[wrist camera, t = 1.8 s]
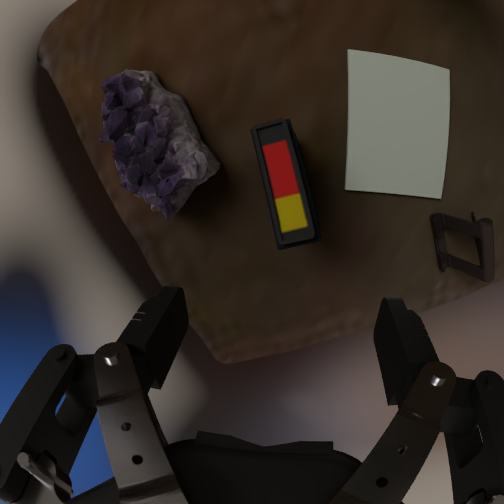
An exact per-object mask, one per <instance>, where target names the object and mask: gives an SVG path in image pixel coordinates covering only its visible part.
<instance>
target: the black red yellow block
mask: <svg viewBox="0 0 504 504" xmlns="http://www.w3.org/2000/svg"><path fill="white" fill-rule="evenodd" d="M251 134H252V138H253V142H254V146H255V151H256V155H257V159H258V163H259V167H260V172H261V176H262V180H263V185H264V189H265V193H266V198H267V202H268V206H269V211H270V215H271V220H272V224H273V229H274V233H275V238H276V243H277V247H278V250H282V249H286V248H291V247H295V246H300V245H304V244H309V243H313V242H318V241H321V233H320V229H319V221H318V217H317V213H316V208H315V204H314V200H313V196H312V192H311V188H310V185H309V181H308V177H307V173H306V170H305V166H304V162H303V159H302V155H301V151H300V148H299V144H298V141H297V137H296V134H295V133H294V131H293V128H292V125H291V122H290V119H286V120H285V119H277V120H274V121H270V122H266V123H263V124H259V125H256V126H254V127H253V128H252V129H251Z"/></svg>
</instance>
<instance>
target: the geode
mask: <svg viewBox="0 0 504 504" xmlns="http://www.w3.org/2000/svg"><path fill="white" fill-rule="evenodd" d="M100 86H101V88H102V89H103V91H104V92H105V94H106V95H105V102H103V103H102V104H101V110H102V113H101V118H102V119H103V120H104V122H103V131H104V133H103V134H102V135H100V136H99V141H100V142H107V143H110V144H113V145H114V147H113V149H112V152H113V153H115V154H114V155H113V156H112V157H113V158H114V159H115V162H116V166H117V171H118V177H119V178H120V179H122V181H121V183H120V185H121V186H122V187H123V188H124V189H125V190H127V191H128V190H129V191H130V192H131V193H134V195H135V196H137V197H140V198H144V200H145V201H146V203H148V204H150V205H151V210H153V211H158V212H159V211H162V213H163V214H164V216H165V218H166V219H167V221H170V220H172V219H173V218H174V217H175V214H176V213H177V212H178V211H179V210H180V209H181V208H182V206H183V205H184V204H185V202H186V201H187V200H188V198H189V197H190V196H191V194H192V192H193V191H194V189H195V188H196V187H197V186H198V185H199V184H202V183H204V182H205V181H207V179H208V178H209V177H211V176H213V175H214V174H215V173H216V172H217V171H218V170H219V169H220V167H221V164H220V162H219V160H218V158H217V156H216V155H215V154H214V153H213V152H212V151H211V150H210V149H209V148H208V147H207V145H206V144H205V143H204V142H203V140H202V139H201V137H200V132H199V129H198V126H197V125H196V124H195V122H194V119H193V117H192V115H191V113H190V111H189V107H188V105H187V103H186V101H185V99H184V98H183V97H182V96H181V95H180V94H178V93H176V94H173V93H171V92H169V91H167V90H166V89H165V88H164V87H163V86H162V85H161V83H160V81H159V78H158V76H157V75H156V74H155V73H154V72H149V71H145V70H144V71H141V72H140V71H136V70H132V69H130V70H129V69H128V68H127V69H126V70H125V71H123V72H121V73H120V74H117V75H113V76H112V77H109V78H107V79H106V80H105V81H103V82H102V83H101V84H100Z"/></svg>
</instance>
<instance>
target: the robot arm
mask: <svg viewBox="0 0 504 504" xmlns="http://www.w3.org/2000/svg"><path fill="white" fill-rule="evenodd" d="M188 323H189V318H188V312H187V307H186V301H185V295H184V291H183V288H181V287H170V286H164V287H163V288H162V289H161V291H160V292H159V294H158V295H157V296H156V297H151V298H150V299H148V300H147V301H145V302H144V303H143V304H142V305H141V306H140V308H139V309H138V311H137V313H135V315H134V316H133V318H132V320H131V321H130V322H129V324H128V325H127V327H126V328H125V329H124V331H123V332H122V334H121V335H120V337H119V338H118V340H117V341H116V342H111V343H108V344H105V345H103V346H101V347H100V348H99V349H98V350H97V351H96V352H95V354H89V355H88V354H87V355H77V353H76V352H75V350H74V348H73V347H72V346H71V345H68V344H60V345H57V346H54V347H53V348H52V349H50V350H49V351H48V352H47V353H46V355H45V356H44V358H43V359H42V360H41V362H40V363H39V365H38V366H37V367H36V369H35V370H34V372H33V373H32V375H31V377H30V378H29V379H28V381H27V382H26V384H25V385H24V387H23V388H22V390H21V391H20V393H19V394H18V396H17V397H16V399H15V401H14V402H13V404H12V405H11V407H10V409H9V410H8V412H7V414H6V415H5V417H4V419H3V421H2V422H1V424H0V499H1V500H2V501H3V502H5V503H7V504H404V503H403V502H402V499H403V498H404V496H405V495H406V493H407V492H408V490H409V488H410V487H411V485H412V483H413V482H414V480H415V478H416V477H417V475H418V473H419V471H420V470H421V468H422V466H423V464H424V462H425V460H426V459H427V457H428V455H429V453H430V451H431V449H432V447H433V445H434V443H435V441H436V439H437V437H438V434H439V432H444V436H445V441H446V447H447V453H448V458H449V465H450V473H451V480H452V490H453V500H454V504H504V380H503V379H502V378H501V376H500V375H499V374H497V373H496V372H493V371H489V370H486V371H482V372H480V373H479V374H478V375H477V377H476V378H475V380H472V379H465V378H459V377H456V375H455V372H454V371H453V369H452V368H451V367H450V366H448V365H447V364H445V363H442V362H440V361H439V359H438V357H437V354H436V352H435V349H434V347H433V345H432V342H431V340H430V338H429V336H428V333H427V331H426V329H425V326H424V324H423V322H422V320H421V318H420V317H419V316H418V315H417V314H416V313H415V312H414V311H413V310H407V308H406V306H405V304H404V301H403V299H402V298H383V299H382V302H381V305H380V309H379V313H378V317H377V320H376V324H375V328H374V344H375V348H376V352H377V357H378V361H379V365H380V370H381V374H382V379H383V383H384V388H385V393H386V398H387V403H388V406H389V405H398V409H399V410H398V412H397V413H396V415H395V417H394V418H393V420H392V421H391V423H390V425H389V426H388V428H387V429H386V430H385V432H384V434H383V435H382V436H381V438H380V440H379V441H378V442H377V444H376V445H375V447H374V448H373V449H372V451H371V452H370V453H369V455H368V456H367V458H366V459H365V460H364V461H363V463H362V462H360V461H359V460H358V459H356V458H354V457H352V456H350V455H348V454H346V453H343V452H340V451H336V450H333V441H328V442H324V441H323V442H321V441H318V442H317V441H298V442H292V443H287V444H280V445H274V446H266V447H265V446H259V445H256V444H253V443H250V442H247V441H244V440H241V439H238V438H235V437H233V436H230V435H223V434H215V433H210V432H204V431H198V432H197V436H196V439H188V440H182V441H178V442H175V443H172V444H168V442H167V440H166V438H165V436H164V433H163V431H162V429H161V426H160V424H159V422H158V419H157V417H156V414H155V412H154V409H153V407H152V404H151V401H150V399H149V396H148V392H149V390H150V388H155V389H161V387H162V385H163V383H164V381H165V379H166V376H167V374H168V372H169V370H170V368H171V365H172V363H173V361H174V359H175V356H176V354H177V352H178V350H179V347H180V345H181V343H182V341H183V339H184V337H185V334H186V332H187V329H188ZM64 394H65V395H66V398H65V400H64V401H63V403H62V405H61V407H60V409H59V411H58V413H57V414H56V416H55V411H56V407H57V405H58V404H59V402H60V400H61V398H62V397H63V395H64ZM97 411H98V416H99V421H100V425H101V429H102V434H103V438H104V441H105V445H106V449H107V453H108V456H109V460H110V463H111V466H112V469H113V473H114V477H112V478H110V479H109V480H107V481H105V482H103V483H102V484H99V485H97V486H95V487H94V488H92V489H90V490H88V491H86V492H84V493H82V494H80V495H78V496H75V497H73V498H71V497H72V496H73V490H72V482H71V479H70V477H69V473H70V471H71V468H72V466H73V463H74V461H75V459H76V456H77V454H78V452H79V450H80V447H81V445H82V443H83V441H84V438H85V436H86V434H87V432H88V430H89V427H90V425H91V423H92V420H93V419H94V417H95V414H96V412H97ZM478 426H479V427H478ZM479 429H480V431H479ZM480 432H481V435H480ZM481 436H482V439H481ZM482 441H483V443H482Z"/></svg>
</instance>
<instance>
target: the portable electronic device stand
mask: <svg viewBox="0 0 504 504" xmlns="http://www.w3.org/2000/svg"><path fill="white" fill-rule="evenodd" d="M471 213H472V220H473V222H470V221H467V220H463V219H460V218H456V217H452V216H449V215H445V214H441V213H434V214H432V215H431V216H430V220H431V225H432V230H433V235H434V240H435V246H436V252H437V259H438V266H439V269H440V270H441V271H442V272H445V267H446V266H452V267H454V268H456V269H458V270H460V271H463V272H465V273H467V274H469V275H471V276H473V277H476V278H478V279H480V280H482V281H484V282H491V281H493V280H494V237H493V223H492V220H491V219H489V218H482V219H480V220H478V221H477V222H476V219H475V216H474V213H473V212H471ZM443 227H444V228H445V227H446V228H449V229H453V230H456V231H459V232H462V233H465V234H468V235H471V236H474V238H475V242H476V247H477V251H478V255H479V260H480V264H481V265H480V266H476V265H474V264H471V263H469V262H467V261H464V260H462V259H460V258H457V257H455V256H452V255H450V254H447V251H446V244H445V237H444V231H443Z"/></svg>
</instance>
